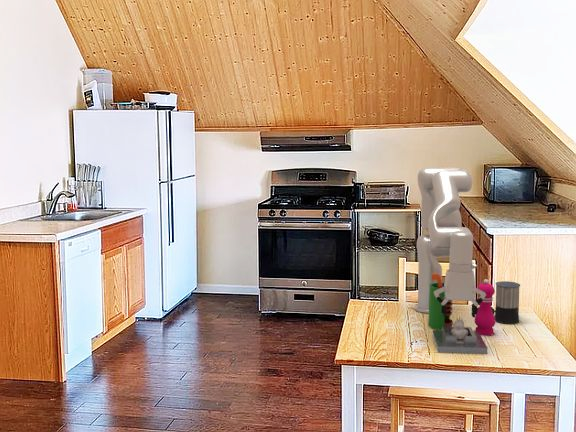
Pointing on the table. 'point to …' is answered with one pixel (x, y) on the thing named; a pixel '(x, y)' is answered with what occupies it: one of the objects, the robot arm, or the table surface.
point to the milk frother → (506, 302)
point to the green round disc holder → (438, 306)
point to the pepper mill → (485, 311)
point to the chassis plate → (458, 341)
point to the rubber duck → (459, 329)
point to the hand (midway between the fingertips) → (458, 316)
